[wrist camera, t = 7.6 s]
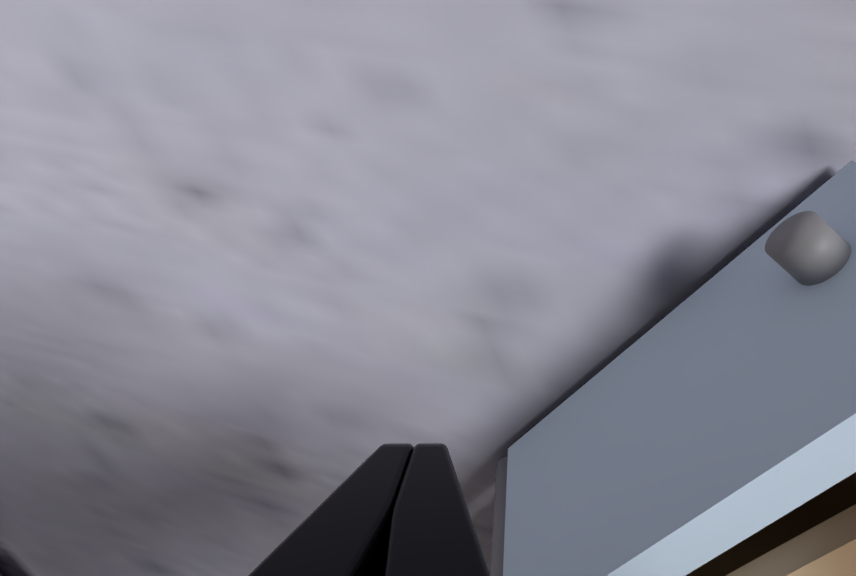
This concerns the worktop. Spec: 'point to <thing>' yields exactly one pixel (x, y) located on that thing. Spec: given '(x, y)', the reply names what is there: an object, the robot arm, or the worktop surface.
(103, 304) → the worktop surface
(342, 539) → the robot arm
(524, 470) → the door
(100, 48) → the worktop surface
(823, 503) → the cabinet
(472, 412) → the worktop surface
